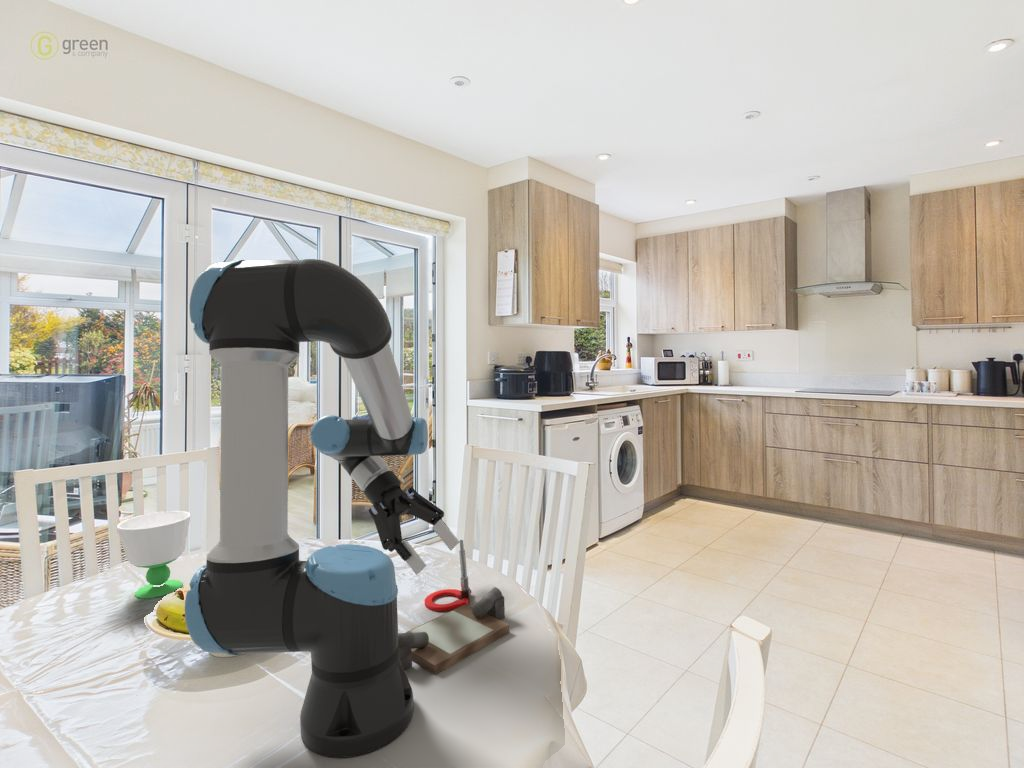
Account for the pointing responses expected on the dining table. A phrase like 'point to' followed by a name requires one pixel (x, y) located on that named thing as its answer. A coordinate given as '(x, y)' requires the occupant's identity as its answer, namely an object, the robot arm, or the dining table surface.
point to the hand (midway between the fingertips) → (439, 557)
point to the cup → (155, 547)
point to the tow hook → (462, 594)
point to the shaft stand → (454, 634)
